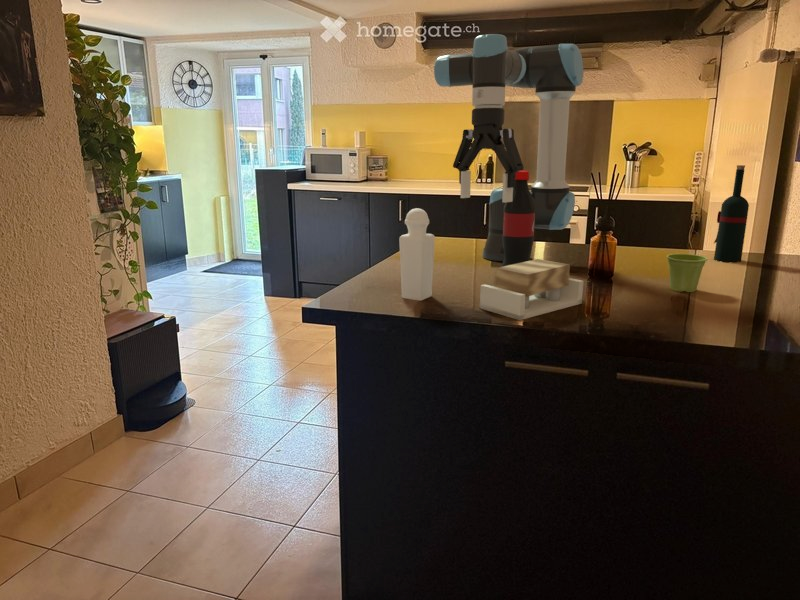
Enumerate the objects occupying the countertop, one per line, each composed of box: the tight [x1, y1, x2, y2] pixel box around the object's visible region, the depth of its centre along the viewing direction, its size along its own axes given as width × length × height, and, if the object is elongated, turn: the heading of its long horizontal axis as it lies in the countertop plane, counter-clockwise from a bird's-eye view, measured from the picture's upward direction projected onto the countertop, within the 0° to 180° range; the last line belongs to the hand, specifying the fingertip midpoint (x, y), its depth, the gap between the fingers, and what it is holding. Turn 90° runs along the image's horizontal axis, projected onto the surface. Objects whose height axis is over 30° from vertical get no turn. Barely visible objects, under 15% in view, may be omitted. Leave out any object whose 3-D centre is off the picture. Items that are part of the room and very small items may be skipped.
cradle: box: [479, 277, 584, 321], centre depth 136 cm, size 22×12×6 cm, turn 127°
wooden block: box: [494, 258, 571, 297], centre depth 135 cm, size 16×9×5 cm, turn 132°
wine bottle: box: [713, 164, 750, 264], centre depth 186 cm, size 8×10×30 cm
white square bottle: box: [398, 207, 436, 302], centre depth 142 cm, size 6×6×22 cm
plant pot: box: [666, 253, 708, 293], centre depth 150 cm, size 9×9×9 cm
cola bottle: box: [500, 170, 536, 267], centre depth 157 cm, size 8×8×30 cm
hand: (485, 199), depth 141 cm, fingers open, 13 cm apart
